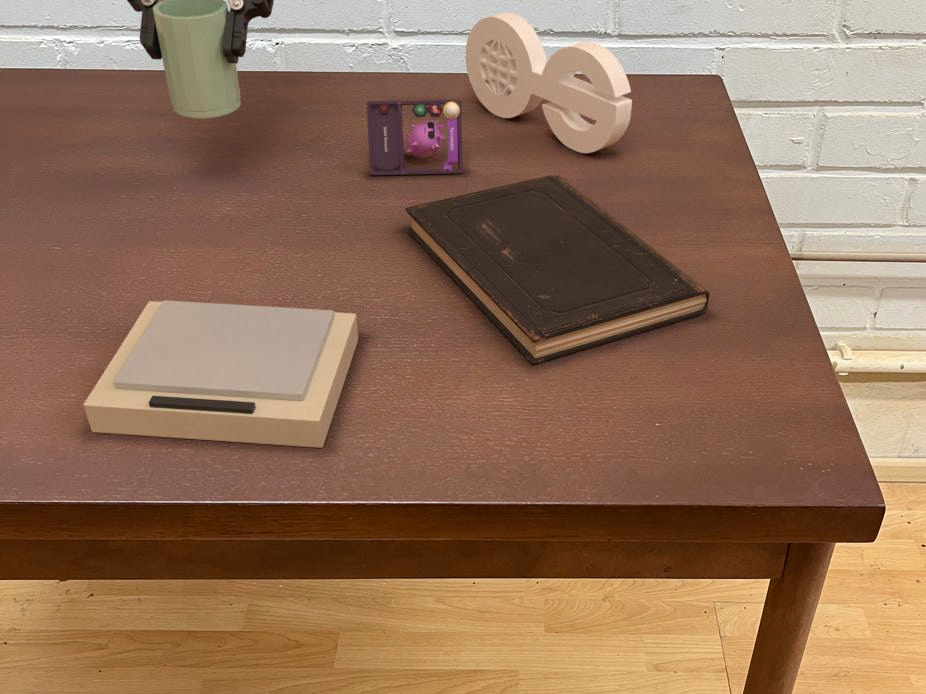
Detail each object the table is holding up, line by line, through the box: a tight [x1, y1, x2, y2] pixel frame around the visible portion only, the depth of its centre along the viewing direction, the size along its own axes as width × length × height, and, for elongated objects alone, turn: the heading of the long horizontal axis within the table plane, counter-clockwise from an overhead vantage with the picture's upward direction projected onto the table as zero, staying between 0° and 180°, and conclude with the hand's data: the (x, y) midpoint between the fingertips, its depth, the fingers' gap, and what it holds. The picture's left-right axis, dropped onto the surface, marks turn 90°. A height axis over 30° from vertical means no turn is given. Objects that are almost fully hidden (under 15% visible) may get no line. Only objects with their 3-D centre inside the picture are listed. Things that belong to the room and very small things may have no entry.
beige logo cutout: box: [465, 12, 633, 154], centre depth 103 cm, size 22×2×10 cm, turn 42°
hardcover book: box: [404, 173, 710, 366], centre depth 84 cm, size 16×23×2 cm
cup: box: [153, 0, 242, 119], centre depth 89 cm, size 6×6×8 cm
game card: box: [366, 99, 463, 176], centre depth 99 cm, size 7×5×9 cm
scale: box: [83, 300, 359, 449], centre depth 72 cm, size 16×13×3 cm
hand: (191, 56), depth 87 cm, fingers closed on cup, 6 cm apart
